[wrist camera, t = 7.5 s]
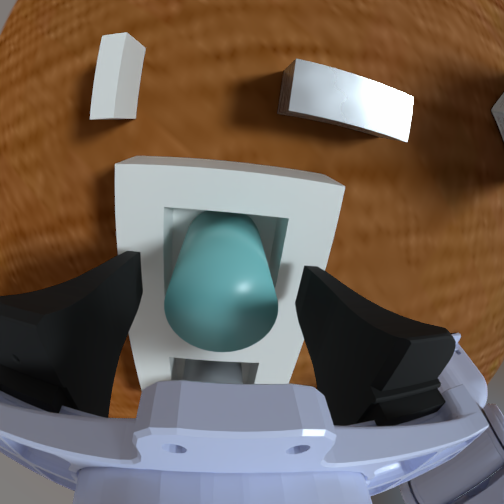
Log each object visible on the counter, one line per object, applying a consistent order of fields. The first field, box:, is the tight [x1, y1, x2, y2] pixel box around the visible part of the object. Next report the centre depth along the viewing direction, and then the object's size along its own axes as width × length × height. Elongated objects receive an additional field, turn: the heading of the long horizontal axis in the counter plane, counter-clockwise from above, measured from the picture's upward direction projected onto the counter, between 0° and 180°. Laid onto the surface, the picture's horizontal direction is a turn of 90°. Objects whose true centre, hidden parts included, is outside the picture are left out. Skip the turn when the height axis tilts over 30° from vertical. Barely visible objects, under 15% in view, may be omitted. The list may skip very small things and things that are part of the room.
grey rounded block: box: [183, 359, 243, 384], centre depth 16 cm, size 4×4×6 cm
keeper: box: [90, 32, 146, 120], centre depth 10 cm, size 1×4×3 cm, turn 172°
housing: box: [115, 156, 345, 390], centre depth 16 cm, size 10×18×3 cm, turn 173°
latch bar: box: [277, 59, 414, 142], centre depth 11 cm, size 6×2×3 cm, turn 83°
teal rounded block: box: [164, 210, 278, 352], centre depth 12 cm, size 4×4×6 cm
